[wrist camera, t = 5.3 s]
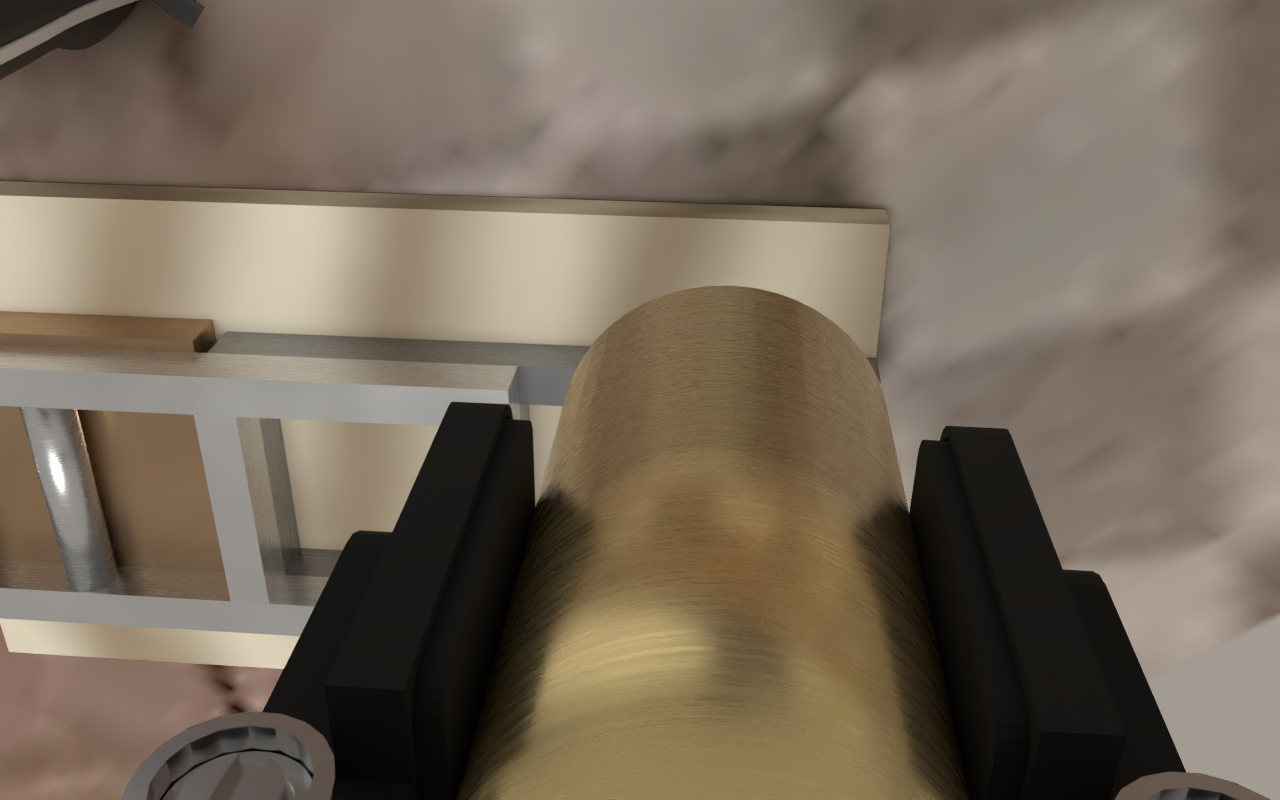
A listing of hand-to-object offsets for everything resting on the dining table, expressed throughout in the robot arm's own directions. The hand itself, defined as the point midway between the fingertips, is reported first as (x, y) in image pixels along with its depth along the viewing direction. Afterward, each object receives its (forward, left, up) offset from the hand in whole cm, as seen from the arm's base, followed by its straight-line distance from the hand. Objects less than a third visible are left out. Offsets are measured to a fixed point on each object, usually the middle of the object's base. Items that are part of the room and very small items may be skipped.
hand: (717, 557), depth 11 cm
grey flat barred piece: (+13, +10, -16) cm, 23 cm away
